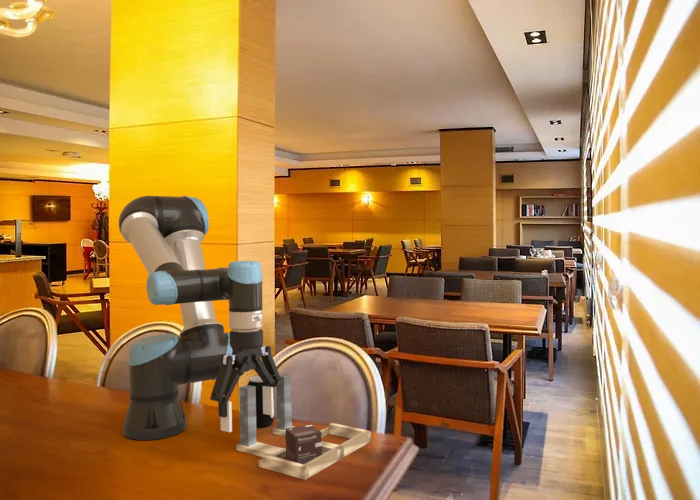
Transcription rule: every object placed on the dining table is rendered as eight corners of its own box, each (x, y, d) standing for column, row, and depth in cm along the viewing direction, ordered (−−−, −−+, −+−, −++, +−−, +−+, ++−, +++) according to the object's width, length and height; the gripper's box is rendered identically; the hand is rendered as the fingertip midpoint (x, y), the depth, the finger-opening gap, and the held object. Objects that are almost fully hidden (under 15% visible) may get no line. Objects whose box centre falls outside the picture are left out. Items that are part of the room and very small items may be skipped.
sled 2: (261, 438, 138) (260, 379, 137) (294, 424, 148) (293, 369, 148) (341, 458, 125) (340, 393, 125) (371, 441, 135) (370, 381, 135)
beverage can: (268, 429, 144) (268, 382, 144) (244, 428, 145) (243, 381, 145) (277, 421, 151) (276, 375, 150) (253, 419, 152) (252, 374, 152)
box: (295, 472, 118) (295, 436, 118) (285, 462, 124) (284, 428, 124) (322, 466, 121) (322, 431, 121) (311, 456, 127) (310, 423, 126)
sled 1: (222, 456, 127) (220, 392, 127) (260, 438, 138) (259, 379, 137) (305, 479, 114) (303, 409, 114) (340, 459, 125) (339, 394, 124)
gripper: (216, 339, 118) (219, 441, 119) (294, 322, 139) (295, 410, 139) (191, 336, 122) (194, 435, 123) (270, 320, 143) (272, 405, 143)
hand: (248, 422), depth 131 cm, fingers open, 13 cm apart
